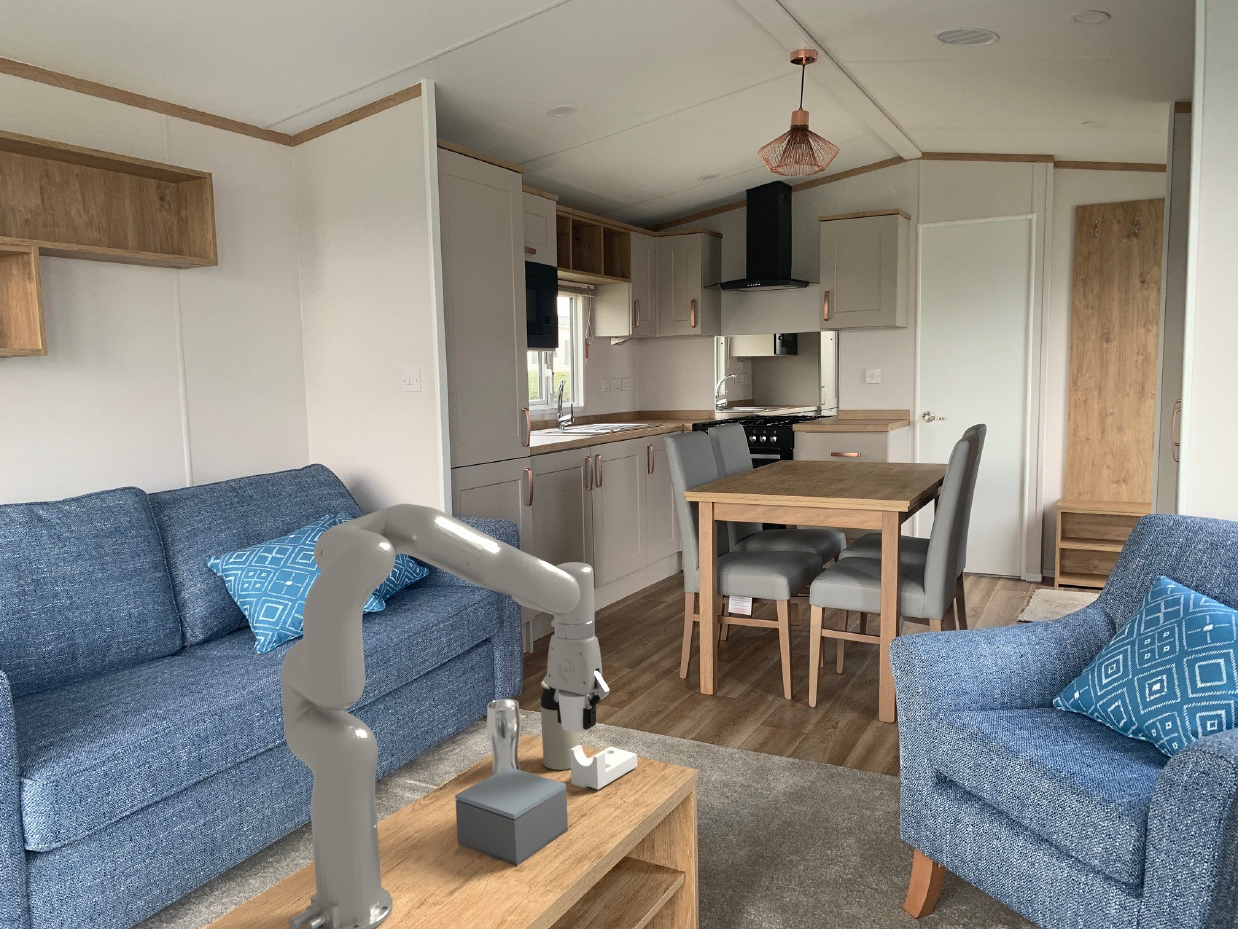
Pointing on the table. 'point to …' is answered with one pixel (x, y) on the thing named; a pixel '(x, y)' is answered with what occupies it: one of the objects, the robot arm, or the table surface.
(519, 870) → the table surface
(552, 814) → the storage box
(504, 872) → the table surface
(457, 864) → the table surface
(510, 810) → the lid
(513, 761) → the silver metal tumbler
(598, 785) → the bracket
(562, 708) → the white cup
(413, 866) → the table surface
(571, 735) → the travel mug
